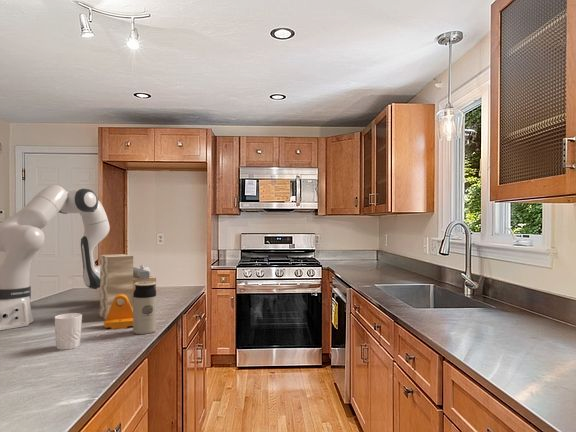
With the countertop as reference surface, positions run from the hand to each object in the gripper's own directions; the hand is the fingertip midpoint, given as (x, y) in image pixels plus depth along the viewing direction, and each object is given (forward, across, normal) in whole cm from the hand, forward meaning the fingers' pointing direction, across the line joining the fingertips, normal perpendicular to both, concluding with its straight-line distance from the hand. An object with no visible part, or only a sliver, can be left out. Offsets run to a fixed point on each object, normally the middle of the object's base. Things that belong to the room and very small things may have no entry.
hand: (132, 267), depth 190 cm
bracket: (+14, -14, +31) cm, 37 cm away
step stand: (-1, -5, +22) cm, 23 cm away
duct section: (+4, 0, +6) cm, 7 cm away
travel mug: (+26, -9, +38) cm, 47 cm away
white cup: (+29, -35, +39) cm, 60 cm away
